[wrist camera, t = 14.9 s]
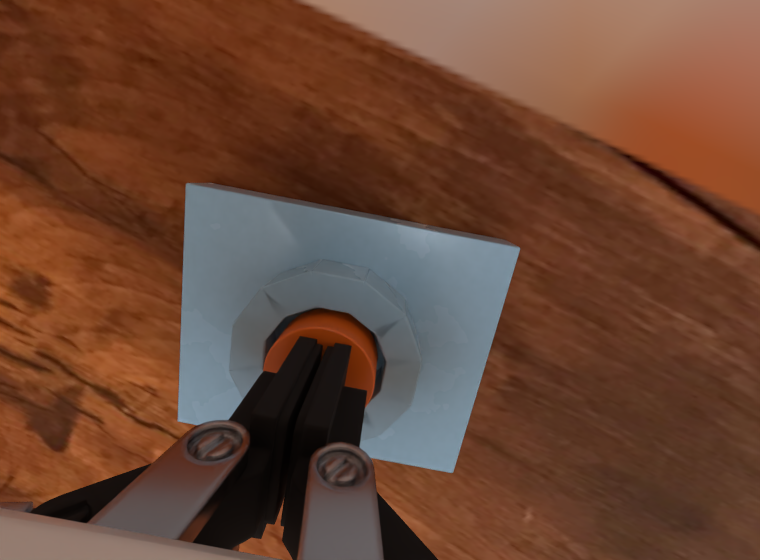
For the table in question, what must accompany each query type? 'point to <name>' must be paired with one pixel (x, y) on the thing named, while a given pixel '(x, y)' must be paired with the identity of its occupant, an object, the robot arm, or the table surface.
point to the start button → (331, 344)
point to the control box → (340, 309)
